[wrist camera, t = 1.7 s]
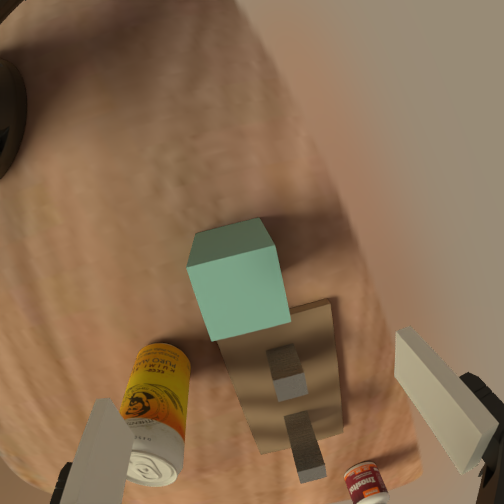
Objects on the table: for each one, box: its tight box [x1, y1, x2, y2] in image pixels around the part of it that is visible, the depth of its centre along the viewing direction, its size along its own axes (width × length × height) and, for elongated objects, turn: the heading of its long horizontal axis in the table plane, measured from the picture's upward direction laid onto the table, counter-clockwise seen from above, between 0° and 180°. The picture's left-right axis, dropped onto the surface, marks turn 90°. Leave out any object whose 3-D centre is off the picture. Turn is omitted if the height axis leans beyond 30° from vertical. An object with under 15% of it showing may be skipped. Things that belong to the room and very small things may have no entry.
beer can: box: [119, 343, 191, 487], centre depth 26 cm, size 6×6×15 cm
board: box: [217, 299, 343, 455], centre depth 36 cm, size 22×12×1 cm, turn 13°
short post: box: [266, 343, 308, 402], centre depth 31 cm, size 3×3×5 cm
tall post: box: [284, 410, 327, 484], centre depth 32 cm, size 3×3×9 cm
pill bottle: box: [344, 462, 390, 504], centre depth 40 cm, size 6×6×11 cm
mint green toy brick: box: [186, 218, 291, 341], centre depth 26 cm, size 6×6×9 cm
